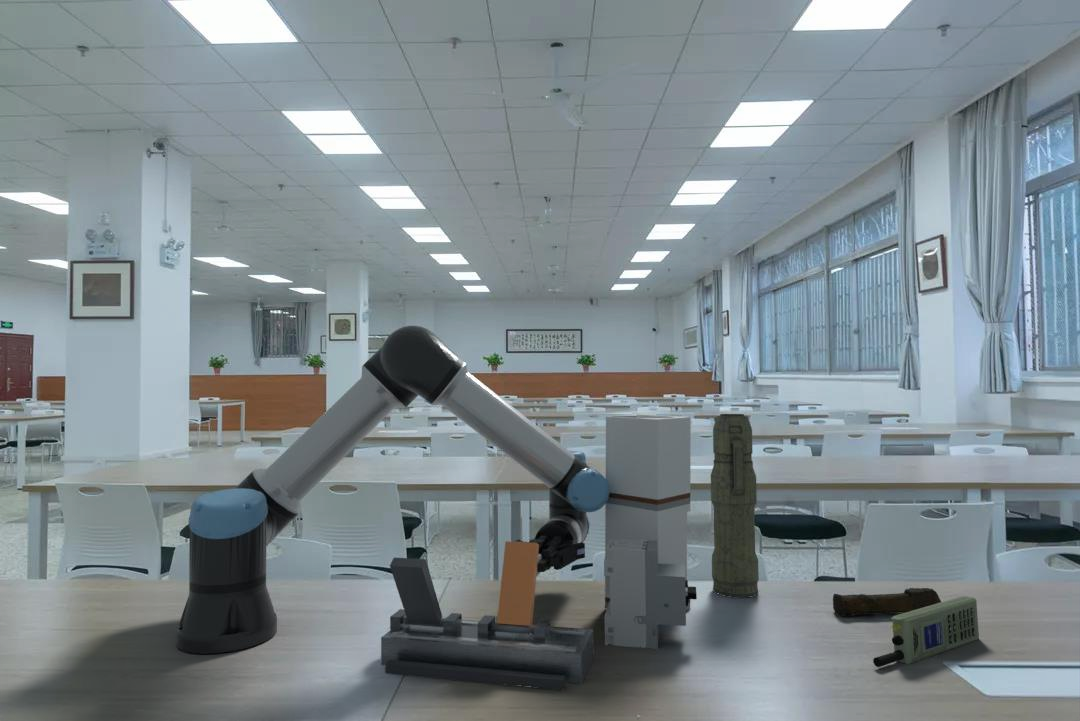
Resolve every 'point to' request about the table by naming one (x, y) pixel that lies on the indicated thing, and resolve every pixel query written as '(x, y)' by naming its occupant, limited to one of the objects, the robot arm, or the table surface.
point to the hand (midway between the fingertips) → (527, 572)
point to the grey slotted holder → (490, 646)
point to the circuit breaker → (642, 593)
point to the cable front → (475, 674)
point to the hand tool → (884, 602)
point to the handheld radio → (932, 630)
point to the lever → (517, 588)
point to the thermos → (734, 508)
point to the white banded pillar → (648, 484)
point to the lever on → (416, 592)
